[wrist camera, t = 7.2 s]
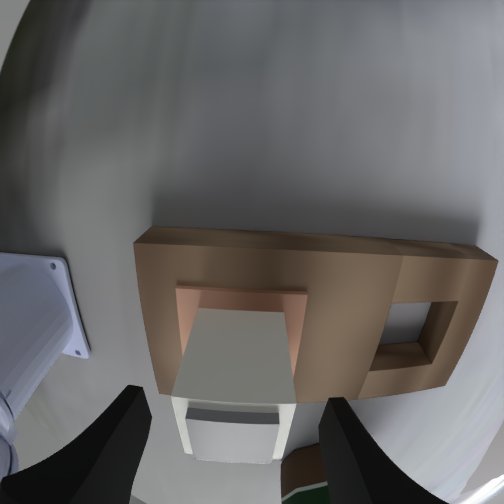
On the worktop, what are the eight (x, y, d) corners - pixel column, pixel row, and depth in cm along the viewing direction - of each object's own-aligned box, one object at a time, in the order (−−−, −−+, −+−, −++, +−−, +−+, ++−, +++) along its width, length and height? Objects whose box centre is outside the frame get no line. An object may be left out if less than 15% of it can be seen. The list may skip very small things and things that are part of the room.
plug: (202, 368, 15) (183, 462, 9) (198, 307, 14) (167, 407, 8) (276, 372, 15) (282, 468, 9) (284, 312, 14) (297, 415, 8)
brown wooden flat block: (167, 367, 19) (158, 396, 16) (150, 227, 15) (130, 245, 12) (432, 364, 19) (446, 388, 16) (475, 246, 15) (501, 262, 12)
